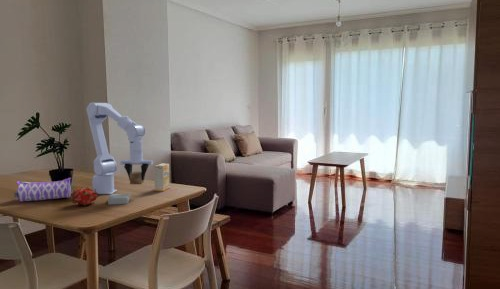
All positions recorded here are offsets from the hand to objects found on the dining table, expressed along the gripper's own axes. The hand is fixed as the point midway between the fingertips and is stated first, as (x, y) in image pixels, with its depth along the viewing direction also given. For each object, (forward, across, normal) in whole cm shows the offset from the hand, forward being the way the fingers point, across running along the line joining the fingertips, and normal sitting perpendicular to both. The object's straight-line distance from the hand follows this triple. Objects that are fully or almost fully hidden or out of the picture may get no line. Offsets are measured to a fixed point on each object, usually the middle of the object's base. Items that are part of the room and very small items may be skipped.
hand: (136, 179), depth 172 cm
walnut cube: (+2, 0, 0) cm, 2 cm away
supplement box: (+9, +8, +16) cm, 20 cm away
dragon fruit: (+9, -19, -12) cm, 24 cm away
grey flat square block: (+9, -6, -7) cm, 13 cm away
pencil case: (+9, -41, -3) cm, 42 cm away
